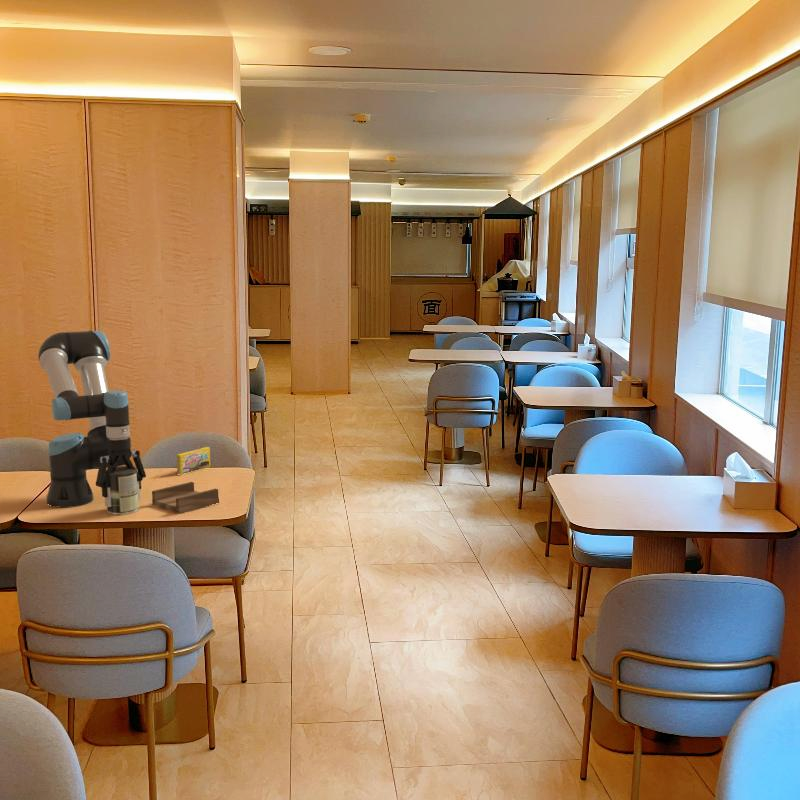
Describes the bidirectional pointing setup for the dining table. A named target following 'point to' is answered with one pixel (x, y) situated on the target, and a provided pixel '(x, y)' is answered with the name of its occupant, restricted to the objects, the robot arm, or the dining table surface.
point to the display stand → (183, 498)
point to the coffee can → (123, 491)
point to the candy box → (193, 460)
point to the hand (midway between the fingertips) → (122, 502)
